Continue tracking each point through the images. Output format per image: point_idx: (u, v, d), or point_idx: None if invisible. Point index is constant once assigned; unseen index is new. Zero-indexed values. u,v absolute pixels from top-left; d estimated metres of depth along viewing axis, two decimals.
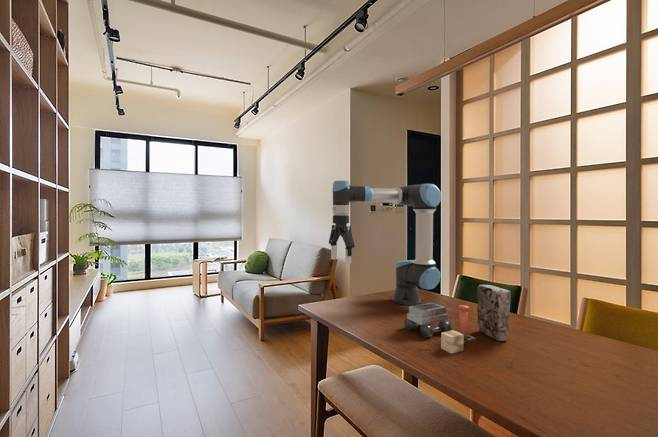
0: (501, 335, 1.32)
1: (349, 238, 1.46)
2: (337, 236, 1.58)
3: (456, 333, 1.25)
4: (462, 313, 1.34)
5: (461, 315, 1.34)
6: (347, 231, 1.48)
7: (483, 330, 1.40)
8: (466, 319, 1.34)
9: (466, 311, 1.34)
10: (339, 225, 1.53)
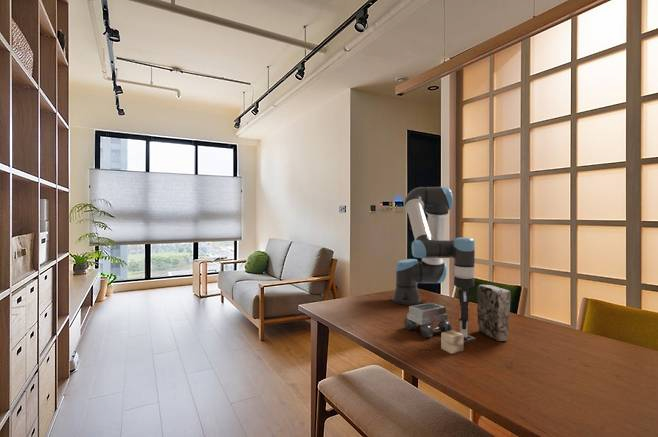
0: (501, 335, 1.32)
1: (463, 311, 1.30)
2: None
3: (456, 333, 1.25)
4: None
5: None
6: (463, 302, 1.30)
7: (483, 330, 1.40)
8: None
9: None
10: None
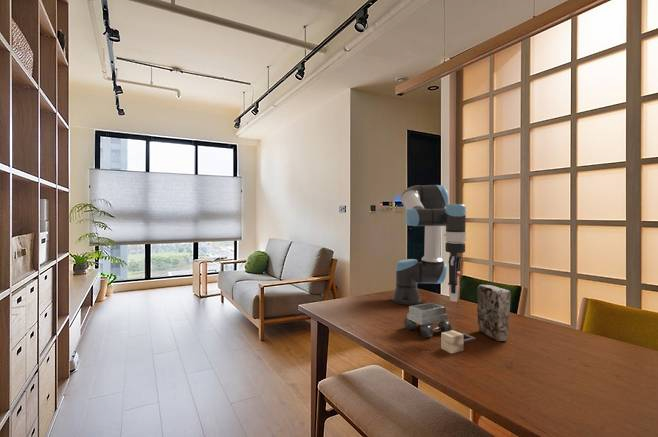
0: (501, 335, 1.32)
1: (450, 274, 1.32)
2: (456, 268, 1.38)
3: (456, 333, 1.25)
4: None
5: None
6: (450, 266, 1.32)
7: (483, 330, 1.40)
8: None
9: None
10: None
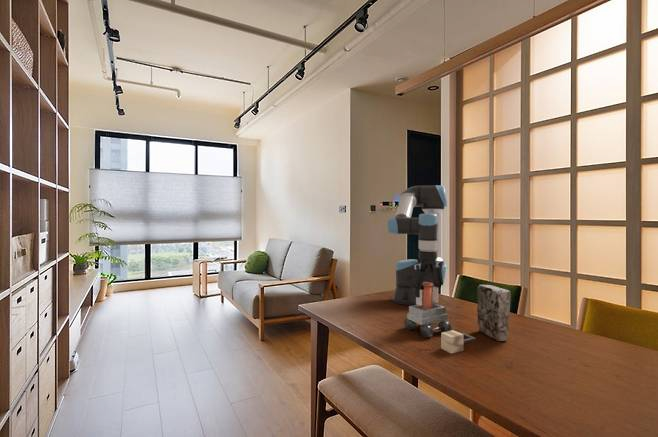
0: (501, 335, 1.32)
1: (413, 278, 1.40)
2: (432, 274, 1.44)
3: (456, 333, 1.25)
4: (424, 288, 1.43)
5: (424, 290, 1.44)
6: (414, 270, 1.41)
7: (483, 330, 1.40)
8: (427, 295, 1.42)
9: (427, 287, 1.42)
10: None
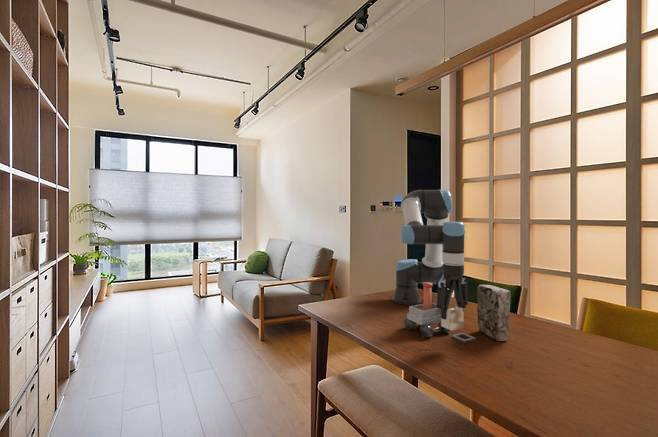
0: (501, 335, 1.32)
1: (438, 297, 1.22)
2: (456, 292, 1.25)
3: (457, 310, 1.25)
4: None
5: None
6: (438, 288, 1.22)
7: (483, 330, 1.40)
8: (427, 295, 1.42)
9: (426, 287, 1.42)
10: None
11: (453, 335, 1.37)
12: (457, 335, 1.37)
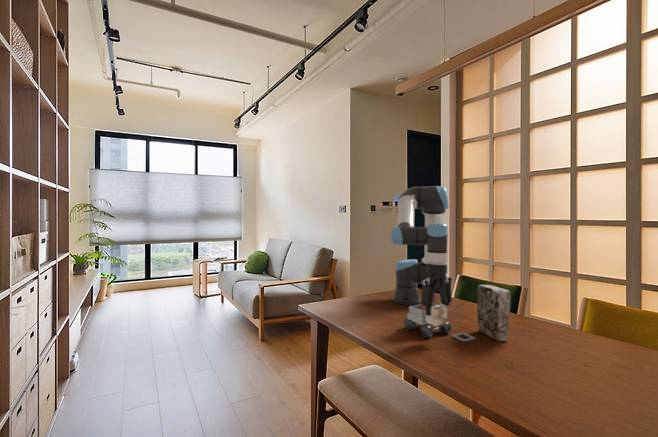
0: (501, 335, 1.32)
1: (423, 295, 1.29)
2: (440, 290, 1.32)
3: (441, 307, 1.32)
4: None
5: None
6: (423, 286, 1.29)
7: (483, 330, 1.40)
8: None
9: None
10: None
11: (453, 335, 1.37)
12: (457, 335, 1.37)
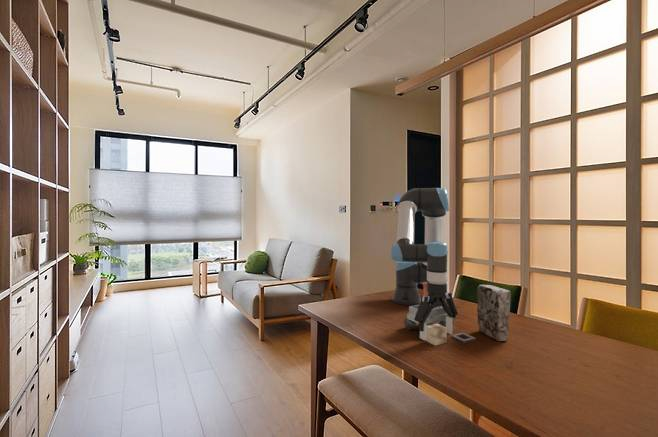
0: (501, 335, 1.32)
1: (418, 310, 1.28)
2: (443, 306, 1.33)
3: (440, 326, 1.32)
4: None
5: None
6: (421, 302, 1.29)
7: (483, 330, 1.40)
8: (426, 295, 1.42)
9: (426, 287, 1.42)
10: None
11: (453, 335, 1.37)
12: (457, 335, 1.37)
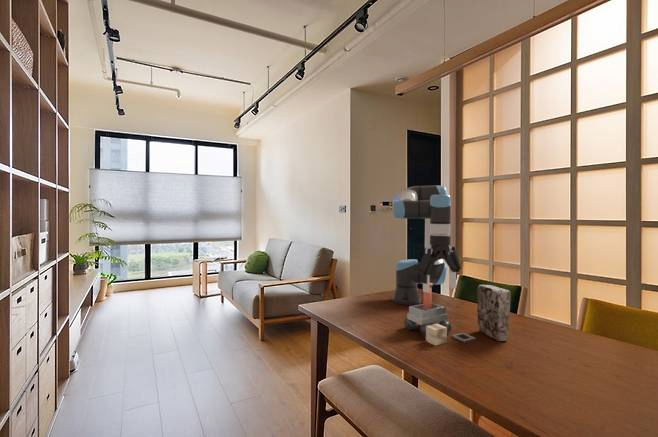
0: (501, 335, 1.32)
1: (421, 262, 1.27)
2: (447, 260, 1.31)
3: (440, 326, 1.32)
4: None
5: None
6: (424, 254, 1.27)
7: (483, 330, 1.40)
8: (427, 295, 1.42)
9: None
10: None
11: (453, 335, 1.37)
12: (457, 335, 1.37)
